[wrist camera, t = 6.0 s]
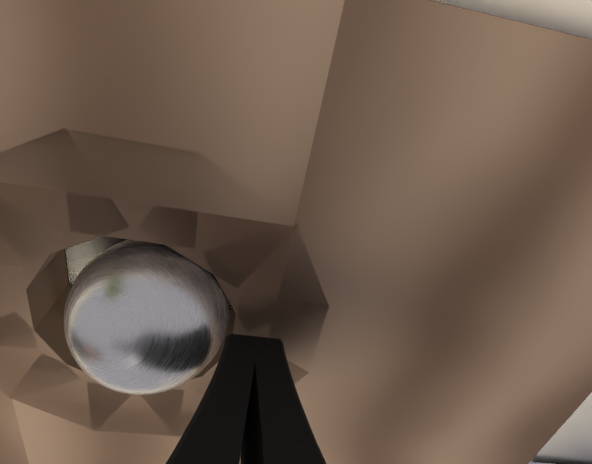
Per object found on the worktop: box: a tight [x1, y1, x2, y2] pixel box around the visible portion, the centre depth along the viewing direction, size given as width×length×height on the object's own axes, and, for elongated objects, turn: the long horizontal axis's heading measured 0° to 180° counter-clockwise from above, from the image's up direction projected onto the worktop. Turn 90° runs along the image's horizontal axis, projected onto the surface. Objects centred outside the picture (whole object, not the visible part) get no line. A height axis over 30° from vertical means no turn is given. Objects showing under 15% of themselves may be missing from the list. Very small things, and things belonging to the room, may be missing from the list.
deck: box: [0, 0, 592, 464], centre depth 12 cm, size 20×17×2 cm
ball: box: [64, 240, 229, 395], centre depth 10 cm, size 4×4×4 cm
